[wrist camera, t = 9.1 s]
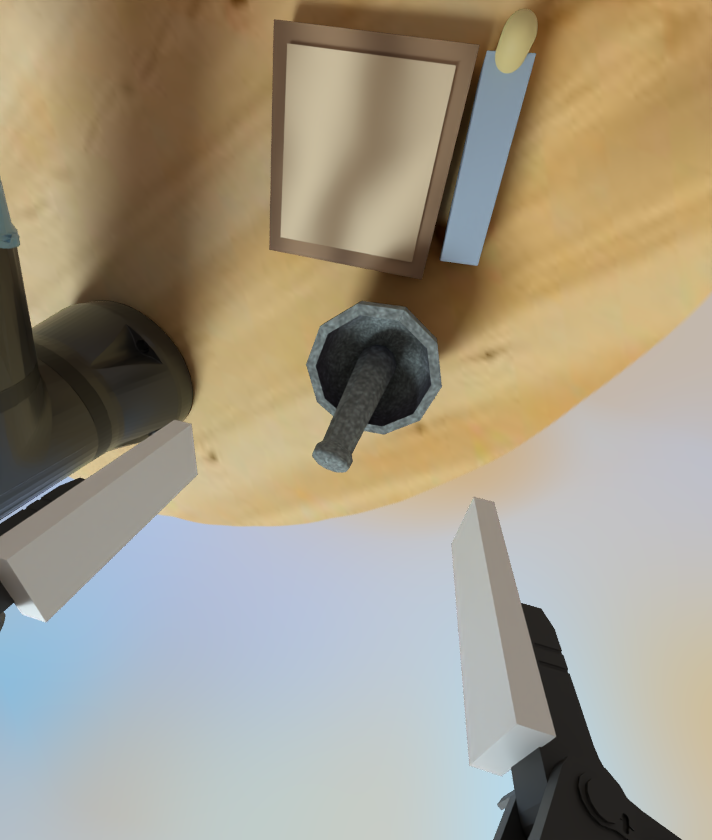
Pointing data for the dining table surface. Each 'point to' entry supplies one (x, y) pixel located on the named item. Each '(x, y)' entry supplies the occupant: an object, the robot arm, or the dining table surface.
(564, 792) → the robot arm
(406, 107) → the stand
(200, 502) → the dining table surface
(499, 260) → the dining table surface
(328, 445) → the mortar and pestle
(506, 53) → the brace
